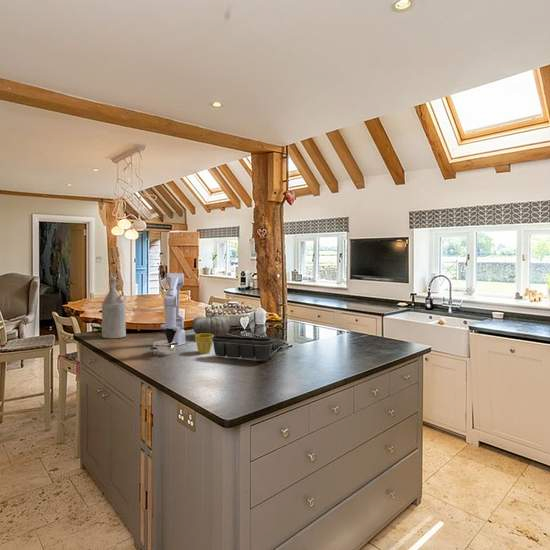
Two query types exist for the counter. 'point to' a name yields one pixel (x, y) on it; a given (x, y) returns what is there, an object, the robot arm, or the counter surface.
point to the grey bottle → (113, 313)
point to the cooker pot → (163, 350)
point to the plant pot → (204, 342)
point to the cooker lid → (163, 343)
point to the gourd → (211, 325)
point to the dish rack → (246, 345)
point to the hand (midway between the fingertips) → (170, 342)
